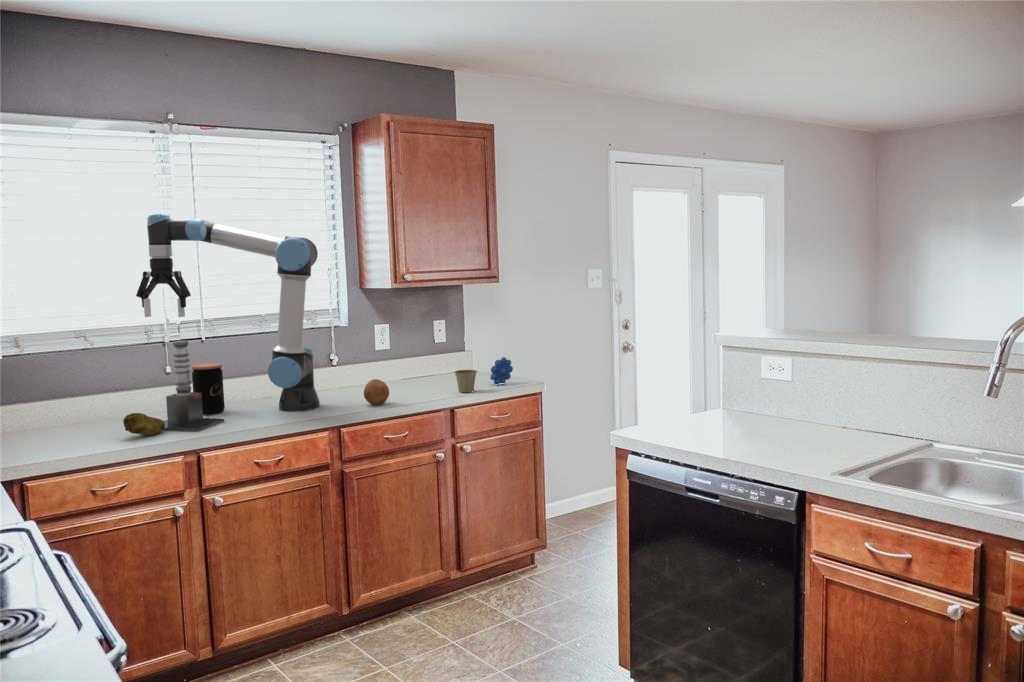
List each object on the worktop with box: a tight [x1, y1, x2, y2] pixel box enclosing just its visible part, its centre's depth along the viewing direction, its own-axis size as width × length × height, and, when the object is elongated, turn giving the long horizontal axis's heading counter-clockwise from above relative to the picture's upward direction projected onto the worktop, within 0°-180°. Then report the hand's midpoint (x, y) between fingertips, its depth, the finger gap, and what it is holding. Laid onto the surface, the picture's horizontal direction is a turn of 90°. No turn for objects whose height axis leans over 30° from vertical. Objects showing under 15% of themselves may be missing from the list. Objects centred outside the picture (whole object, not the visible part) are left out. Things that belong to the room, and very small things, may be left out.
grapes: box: [490, 356, 514, 385], centre depth 353 cm, size 12×7×12 cm, turn 125°
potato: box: [122, 412, 164, 437], centre depth 267 cm, size 8×13×8 cm, turn 125°
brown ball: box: [363, 378, 390, 406], centre depth 312 cm, size 10×10×10 cm
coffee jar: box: [191, 362, 225, 416], centre depth 303 cm, size 11×11×18 cm
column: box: [172, 340, 193, 396], centre depth 279 cm, size 5×5×22 cm
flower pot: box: [453, 369, 478, 393], centre depth 336 cm, size 9×9×9 cm
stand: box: [162, 391, 226, 433], centre depth 281 cm, size 20×16×11 cm
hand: (164, 316), depth 292 cm, fingers open, 13 cm apart
